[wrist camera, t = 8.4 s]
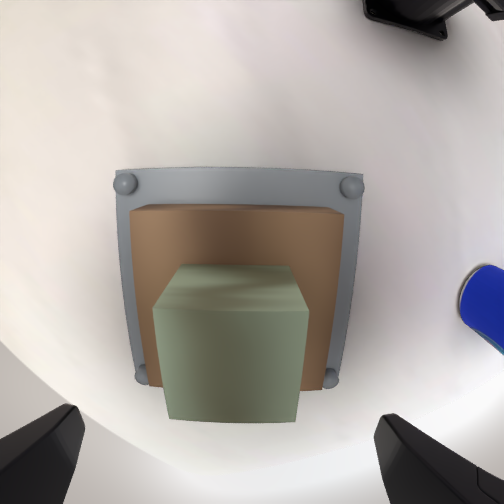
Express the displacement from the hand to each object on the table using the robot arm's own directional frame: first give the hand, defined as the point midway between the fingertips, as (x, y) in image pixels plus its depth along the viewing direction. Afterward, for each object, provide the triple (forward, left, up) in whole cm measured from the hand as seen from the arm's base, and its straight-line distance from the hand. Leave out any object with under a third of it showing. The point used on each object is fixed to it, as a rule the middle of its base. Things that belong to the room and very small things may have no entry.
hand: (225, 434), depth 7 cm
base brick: (0, 0, -12) cm, 12 cm away
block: (0, 0, -8) cm, 8 cm away
